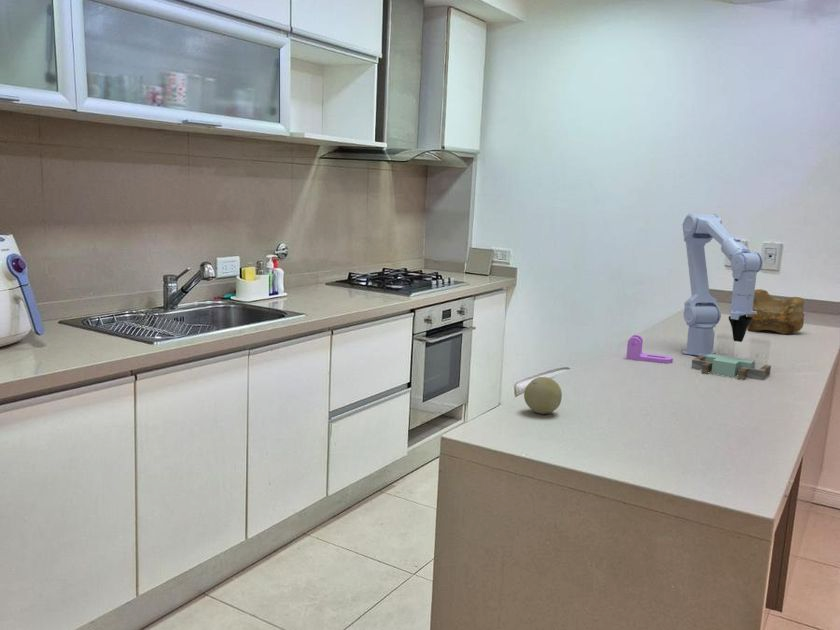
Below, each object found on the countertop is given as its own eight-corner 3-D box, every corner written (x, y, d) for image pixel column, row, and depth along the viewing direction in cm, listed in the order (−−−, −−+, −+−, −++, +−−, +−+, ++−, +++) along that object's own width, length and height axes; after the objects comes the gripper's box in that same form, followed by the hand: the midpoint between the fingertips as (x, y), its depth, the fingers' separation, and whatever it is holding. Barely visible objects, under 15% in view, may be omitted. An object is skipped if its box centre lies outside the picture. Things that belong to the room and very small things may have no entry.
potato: (535, 405, 162) (537, 371, 161) (566, 413, 157) (568, 378, 156) (517, 412, 156) (519, 377, 155) (549, 420, 151) (551, 384, 150)
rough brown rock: (723, 329, 274) (727, 292, 270) (744, 322, 284) (748, 286, 280) (785, 342, 256) (789, 302, 253) (805, 334, 266) (809, 295, 263)
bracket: (626, 359, 213) (628, 337, 212) (628, 356, 218) (630, 333, 217) (671, 364, 208) (673, 341, 207) (673, 361, 213) (675, 338, 212)
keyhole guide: (700, 363, 211) (701, 354, 210) (769, 374, 199) (770, 365, 199) (686, 370, 201) (687, 362, 200) (759, 382, 189) (760, 373, 189)
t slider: (709, 367, 206) (710, 353, 206) (753, 374, 199) (755, 360, 199) (700, 372, 199) (701, 358, 199) (745, 379, 192) (747, 365, 192)
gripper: (751, 298, 194) (746, 347, 197) (764, 293, 206) (758, 339, 208) (725, 295, 199) (719, 343, 201) (738, 291, 210) (733, 336, 212)
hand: (737, 341), depth 205 cm, fingers closed
